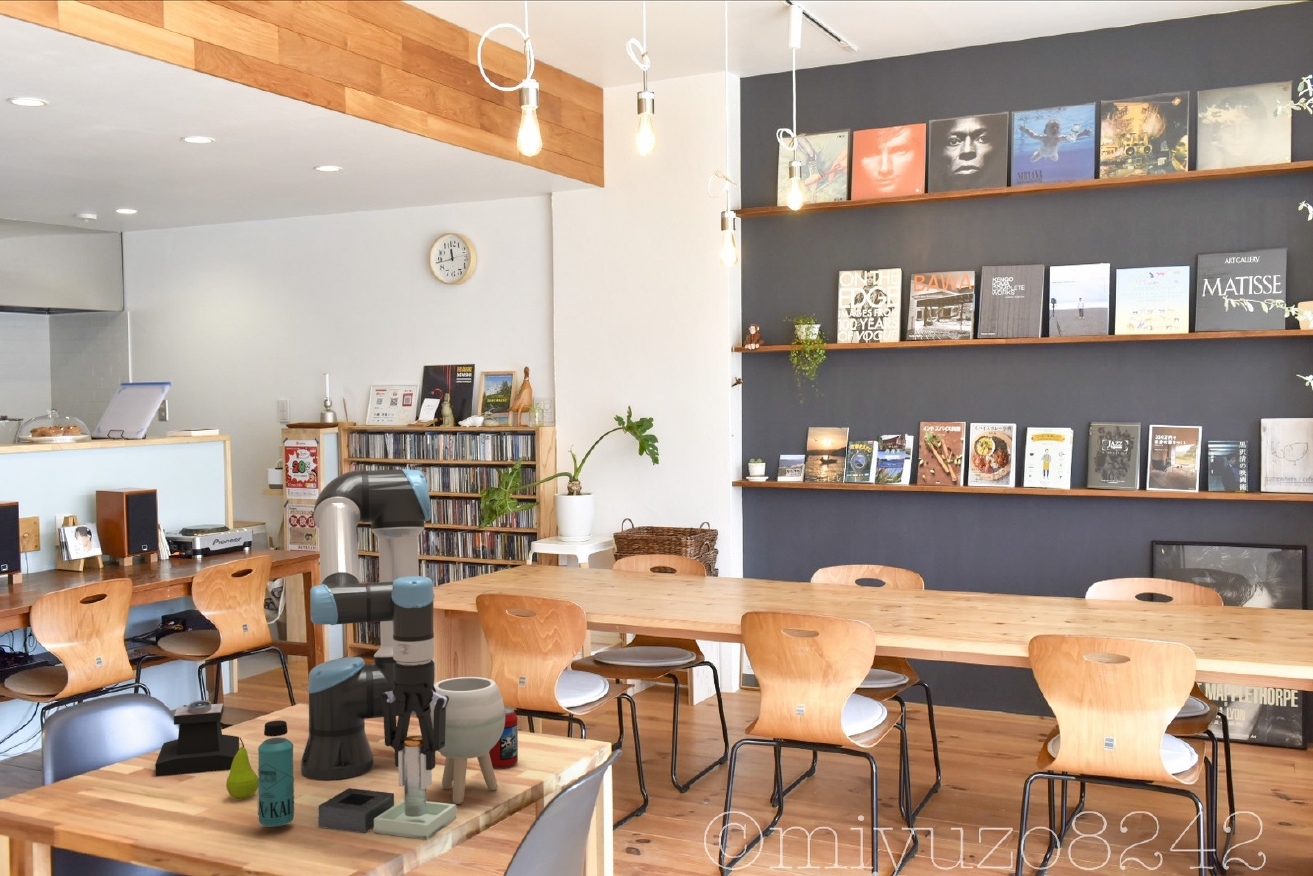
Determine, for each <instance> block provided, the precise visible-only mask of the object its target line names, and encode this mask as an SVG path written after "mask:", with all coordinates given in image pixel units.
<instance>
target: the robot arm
mask: <svg viewBox="0 0 1313 876" xmlns="http://www.w3.org/2000/svg"><path fill="white" fill-rule="evenodd" d="M320 491H321V492H320V493H319V494H318V496H317V497H316V498H317V499H316V500H315V504H314V507H313V520H314V521H313V522H314V523H315V525H316V527H317V528H318V533H319V534H318V536H319V537H318V538H319V540H318V541H319V543H318V544H319V580H320V581H319V584H320V585H314V586H312V587H311V588H310V590H309V591H310V595H309V596H310V597H309V598H310V604H309V605H310V606H309V607H310V621H311V622H312V624H314V625H316V626H317V625H330V626H336V625H345V624H348V625H349V624H359V623H360V624H361V623H377V622H378V623H379V624H380V626H379V627H380V648H379V649H378V650H377V651H376V652H375V653H374V655H373V663H368V664H367V663H365V661H364V659H363V658H362V657H360V656H346V657H340V658H335V659H331V660H328V661H325V662H321V663H319V664H318V665H315V666H314V667H313V668H312V669H311V670H310V671H309V674H308V686H307V687H308V688H307V689H306V690H307V693H308V736H307V737H308V738H307V741H306V744H305V749H304V750H303V754H302V757H301V761H300V773H301V775H302V776H304V777H306V778H309V779H314V780H324V781H325V780H330V781H331V780H342V779H348V778H354V777H357V776H360V775H363V774H365V773H367V772H369V771H371V770H372V769H373V768H374V753H373V752H372V748H371V745H370V742H369V738H368V736H367V734H366V728H365V727H366V726H365V720H366V719H367V720H368V719H377V718H378V719H379V718H383V736H384V745H385V747H391V748H392V749H393V750H394V766H395V767H396V768H398V787H404V738H406V737H408V734H409V733H408V732H409V727H410V721H411V716H412V715H413V716H414V715H415V716H416V718H417V719H418V724H419V725H418V726H419V730H420V736H422V741H423V746H424V751H423V752H422V753H421V789H425V788H426V789H427V788H429V787H430V786H432V784H433V779H432V777H433V772H432V771H433V770H434V769H435V768H436V752H438V750H439V749H441V748H443V747H444V746H445V727H446V707H447V704H448V701H449V697H448V696H447V695H445V696H441V695H440V694H438V693H436V689H435V687H434V684H435V681H436V680H435V679H436V672H435V671H436V663H435V660H434V657H435V635H434V634H435V633H434V621H435V620H434V618H435V617H434V608H435V607H434V606H435V605H434V601H435V600H434V599H435V593H434V591H435V590H434V583H433V580H432V579H431V578H430V577H427V576H422V575H419V573H420V572H419V571H420V569H419V564H420V563H419V536H420V534H421V533H422V532H423V531H424V530H425V522H428V521H431V518H432V510H431V499H430V493H429V489H428V484H427V480H426V477H425V474H424V473H423V472H422V471H421V470H418V469H403V468H402V469H375V470H371V469H370V470H362V469H361V470H359V469H358V470H351V471H347V472H345V473H343V474H341V475H340V474H339V475H338V476H337V477H334V478H333V479H332V480H331V481H330V482H329V483H327V484H326V485H325V487H323V489H322V490H320ZM360 523H362V524H364V523H365V524H366V523H368V524H369V523H370V528H371V532H372V533H373V534H374V535H375V536H376V537H377V539H378V566H379V567H378V568H379V569H378V571H379V574H378V577H379V578H378V579H379V582H362V583H361V581H360V579H361V578H360V566H359V565H360V563H359V550H358V549H359V548H358V535H357V526H358V524H360ZM432 700H434V704H433V706H435V708H434V723H433V726H432V721H431V715H430V713H431V708H430V703H431V701H432Z"/></svg>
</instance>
